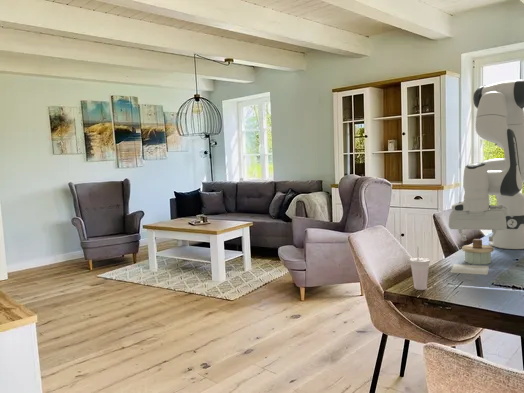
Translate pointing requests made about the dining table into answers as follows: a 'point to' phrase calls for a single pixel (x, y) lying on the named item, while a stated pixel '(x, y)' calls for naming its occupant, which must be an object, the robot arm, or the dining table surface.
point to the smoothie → (420, 271)
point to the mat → (470, 269)
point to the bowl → (478, 258)
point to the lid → (477, 247)
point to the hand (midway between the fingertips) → (477, 240)
